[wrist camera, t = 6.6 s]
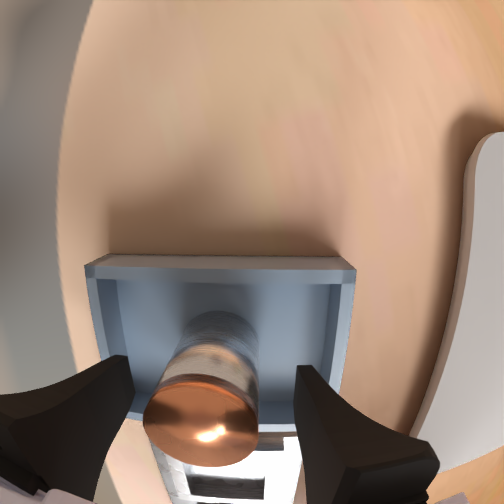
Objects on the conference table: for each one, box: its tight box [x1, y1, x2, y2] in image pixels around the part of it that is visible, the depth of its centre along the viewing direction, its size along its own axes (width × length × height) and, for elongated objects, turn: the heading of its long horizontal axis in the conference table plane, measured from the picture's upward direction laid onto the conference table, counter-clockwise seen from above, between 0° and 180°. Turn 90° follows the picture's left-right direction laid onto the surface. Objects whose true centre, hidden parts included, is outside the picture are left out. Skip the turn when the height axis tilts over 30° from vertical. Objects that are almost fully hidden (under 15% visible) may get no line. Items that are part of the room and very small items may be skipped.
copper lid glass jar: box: [143, 311, 259, 467], centre depth 12 cm, size 4×4×6 cm
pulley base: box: [149, 431, 302, 504], centre depth 16 cm, size 10×13×3 cm
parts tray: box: [84, 254, 356, 432], centre depth 14 cm, size 12×9×2 cm
